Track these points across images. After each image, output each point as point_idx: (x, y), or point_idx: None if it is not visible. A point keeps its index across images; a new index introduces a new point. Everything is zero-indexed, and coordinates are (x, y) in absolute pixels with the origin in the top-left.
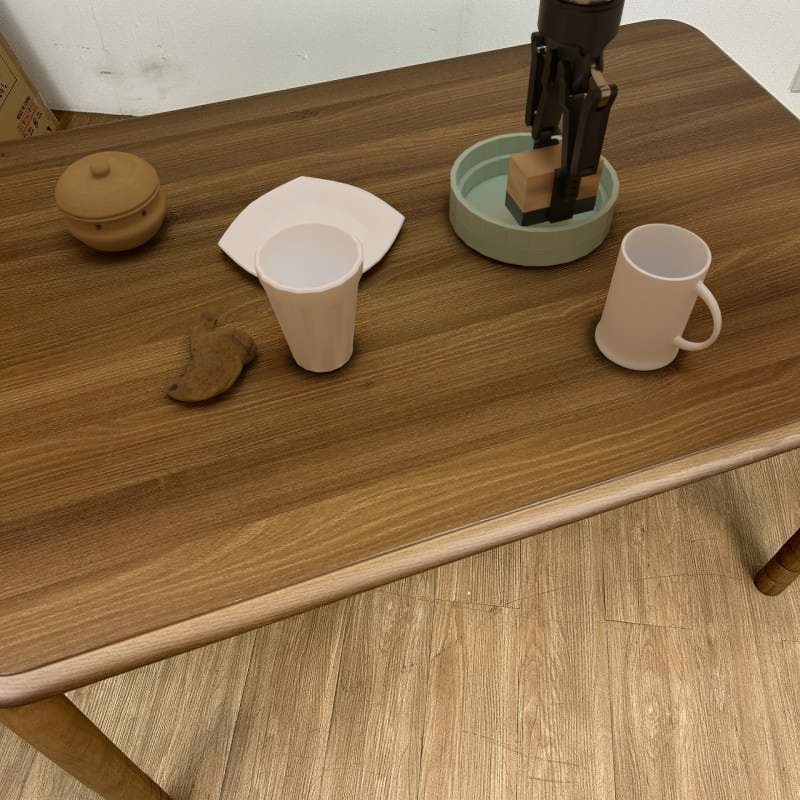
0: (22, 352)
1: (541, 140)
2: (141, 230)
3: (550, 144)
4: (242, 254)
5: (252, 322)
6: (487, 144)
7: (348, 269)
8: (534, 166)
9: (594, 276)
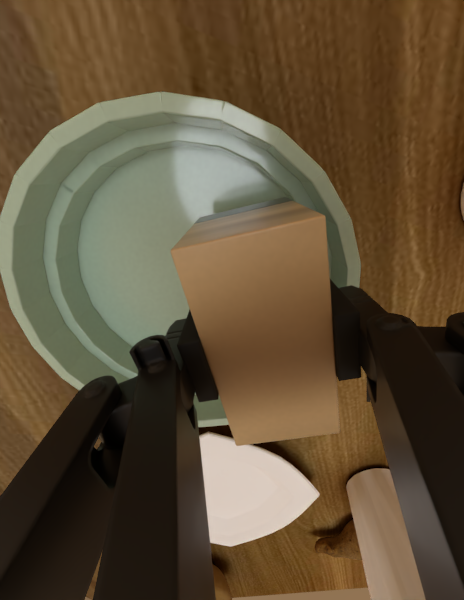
0: (305, 588)
1: (193, 388)
2: (223, 592)
3: (207, 364)
4: (249, 535)
5: (317, 513)
6: (62, 361)
7: (415, 579)
8: (300, 413)
9: (362, 203)
